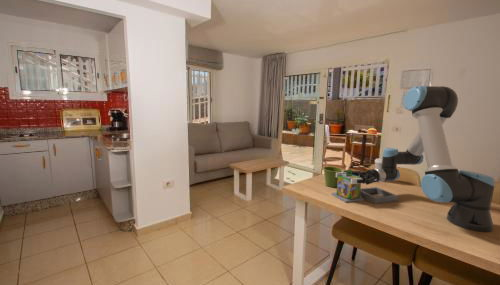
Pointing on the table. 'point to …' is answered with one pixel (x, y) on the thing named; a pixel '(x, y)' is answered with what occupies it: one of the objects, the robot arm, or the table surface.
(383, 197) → the collar
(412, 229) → the table surface
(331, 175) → the plant pot
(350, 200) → the pad
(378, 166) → the coffee cup
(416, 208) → the table surface
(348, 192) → the chalk box
